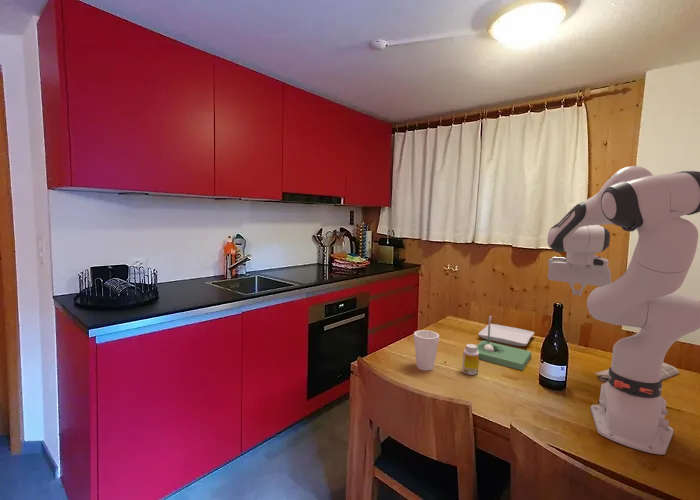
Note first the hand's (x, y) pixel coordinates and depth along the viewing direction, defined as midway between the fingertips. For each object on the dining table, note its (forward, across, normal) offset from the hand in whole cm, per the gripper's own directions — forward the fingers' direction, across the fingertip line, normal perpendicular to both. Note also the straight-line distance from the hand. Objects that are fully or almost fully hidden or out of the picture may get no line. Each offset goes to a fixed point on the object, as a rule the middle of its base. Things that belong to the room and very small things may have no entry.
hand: (576, 294), depth 134 cm
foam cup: (+29, -44, -36) cm, 64 cm away
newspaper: (+30, +21, +10) cm, 37 cm away
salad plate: (+30, -28, +18) cm, 45 cm away
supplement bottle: (+29, -29, -29) cm, 50 cm away
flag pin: (+27, -31, +1) cm, 41 cm away
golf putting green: (+29, -24, -7) cm, 38 cm away
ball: (+27, -29, -7) cm, 40 cm away
